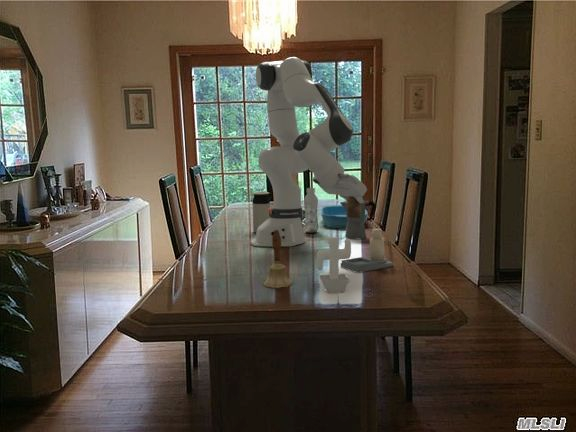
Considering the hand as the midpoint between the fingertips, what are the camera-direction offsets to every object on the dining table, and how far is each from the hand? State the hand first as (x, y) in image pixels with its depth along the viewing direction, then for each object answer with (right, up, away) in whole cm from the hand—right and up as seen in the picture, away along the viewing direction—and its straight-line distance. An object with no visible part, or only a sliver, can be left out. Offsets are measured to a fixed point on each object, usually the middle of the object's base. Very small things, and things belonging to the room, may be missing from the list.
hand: (355, 201), depth 176 cm
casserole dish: (+5, -9, +80) cm, 81 cm away
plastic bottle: (-12, -13, +56) cm, 59 cm away
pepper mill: (0, -5, 0) cm, 5 cm away
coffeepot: (+7, -14, +43) cm, 46 cm away
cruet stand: (+3, -22, -8) cm, 23 cm away
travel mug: (-35, -12, +62) cm, 73 cm away
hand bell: (-26, -25, -26) cm, 45 cm away
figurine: (-10, -26, -34) cm, 44 cm away
